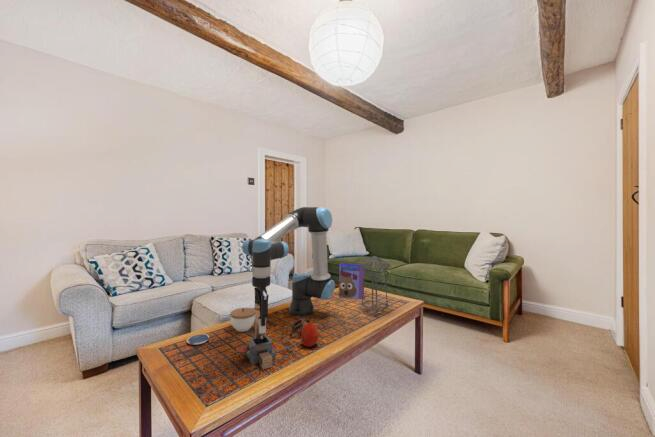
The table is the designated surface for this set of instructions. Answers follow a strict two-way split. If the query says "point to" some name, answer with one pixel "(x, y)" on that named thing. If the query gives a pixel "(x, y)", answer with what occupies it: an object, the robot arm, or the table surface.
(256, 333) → the pipe fitting
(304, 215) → the robot arm
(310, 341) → the apple
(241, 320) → the lidded bowl
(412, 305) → the table surface
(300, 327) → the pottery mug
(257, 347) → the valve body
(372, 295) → the geometric lantern
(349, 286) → the cereal box
